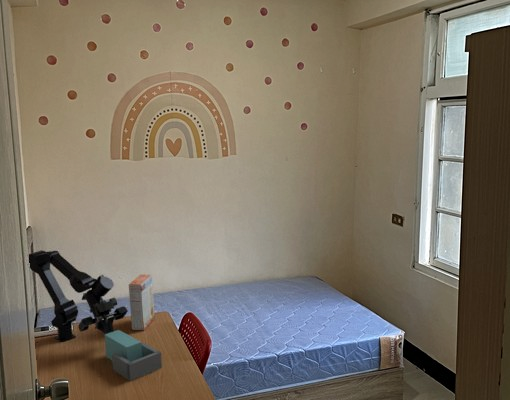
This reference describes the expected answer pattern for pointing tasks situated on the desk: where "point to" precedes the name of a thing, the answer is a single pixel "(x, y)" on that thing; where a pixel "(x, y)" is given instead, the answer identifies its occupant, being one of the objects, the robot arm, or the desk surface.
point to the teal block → (122, 346)
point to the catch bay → (138, 363)
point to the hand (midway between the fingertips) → (112, 337)
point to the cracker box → (141, 302)
